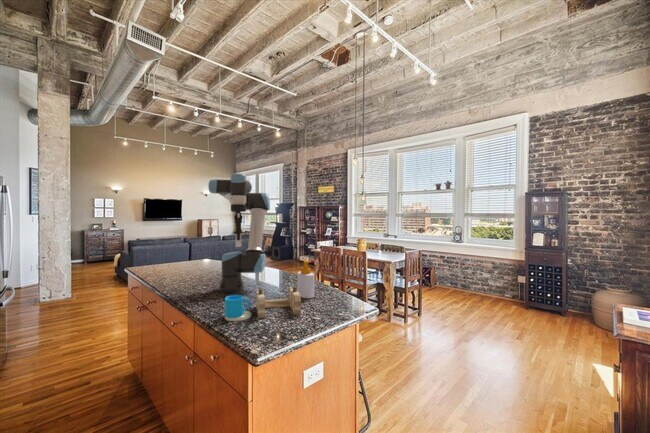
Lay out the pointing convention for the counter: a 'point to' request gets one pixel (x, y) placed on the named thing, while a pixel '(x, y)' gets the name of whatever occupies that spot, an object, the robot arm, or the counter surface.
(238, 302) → the mug
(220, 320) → the counter surface
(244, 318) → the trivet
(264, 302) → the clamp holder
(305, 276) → the soap bottle
